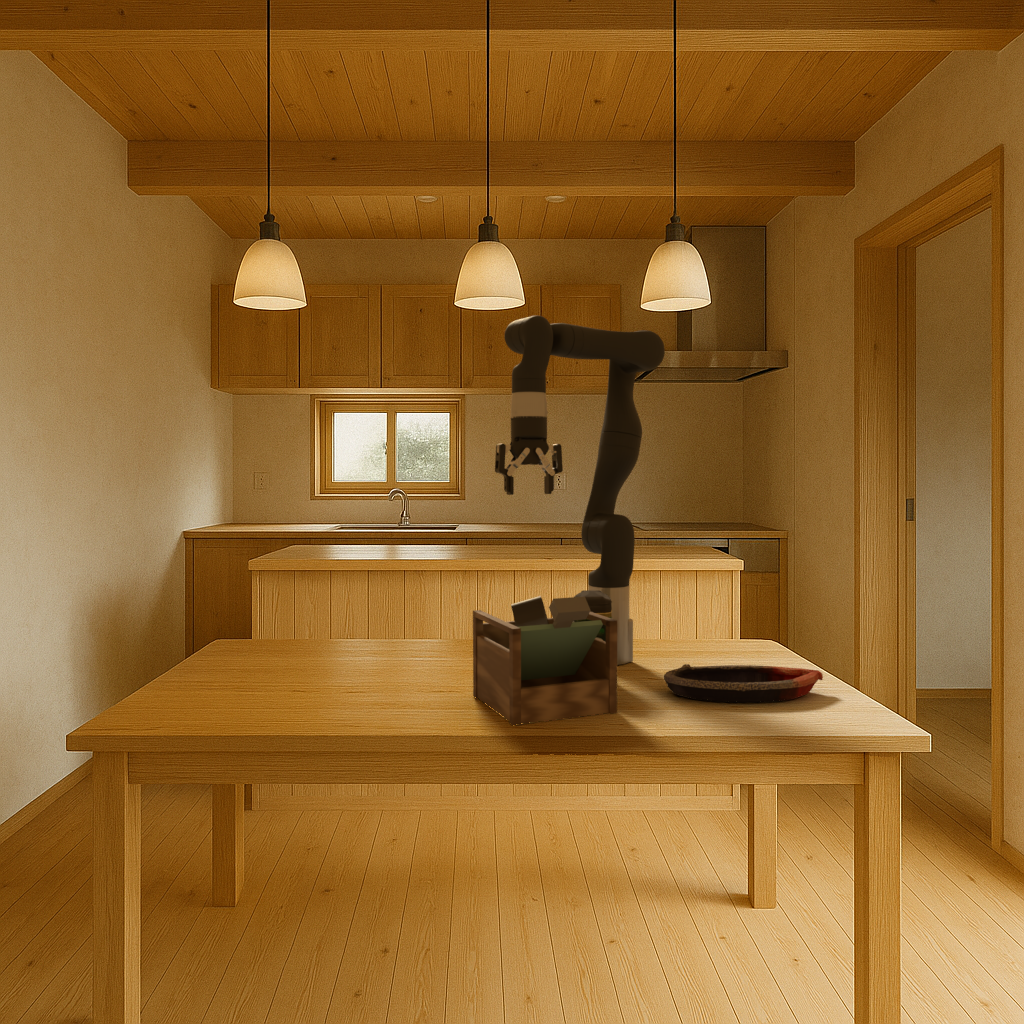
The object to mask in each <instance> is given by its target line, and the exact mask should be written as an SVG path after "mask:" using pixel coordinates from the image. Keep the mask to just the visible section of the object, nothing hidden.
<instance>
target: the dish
mask: <svg viewBox="0 0 1024 1024" xmlns="http://www.w3.org/2000/svg"><path fill="white" fill-rule="evenodd" d="M823 677H824V674H823V673H822V672H821V671H820V670H817V669H816V670H815V669H808V668H802V667H801V668H799V667H788V666H787V667H786V666H777V665H775V666H774V665H773V666H772V665H756V664H754V665H753V664H751V665H748V664H747V665H742V664H740V665H739V664H738V665H737V664H735V665H734V664H732V665H704V666H703V665H701V666H691V665H690V664H687V663H686V664H683V665H682V666H680V667H678V668H675V669H671V670H668V671H666V672H665V673H664V674H663V680H664V682H665V683H666V685H667V688H668V689H669V690H670V691H671V692H672V694H675V695H676V696H679V697H684V698H687V699H692V700H696V701H697V700H698V701H706V702H715V703H716V702H717V703H730V704H731V703H738V704H739V703H745V704H746V703H747V704H748V703H750V704H752V703H757V704H758V703H775V702H785V701H786V702H787V701H791V700H794V699H797V698H800V697H802V696H805V695H808V694H809V693H810V691H812V690H813V688H814V687H815V684H817V682H818V681H819V680H820V681H823Z"/></svg>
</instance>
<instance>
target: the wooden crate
mask: <svg viewBox="0 0 1024 1024" xmlns="http://www.w3.org/2000/svg"><path fill="white" fill-rule="evenodd" d="M547 618H548V622H549V624H553V622H554V620H553V617H547ZM586 619H589V620H592V621H596V620H601V621H602V624H603V625H606V642H605V641H602V640H600V639H597V638H595V640H594V641H593V643H592V645H591V647H590V649H589V650H588V652H587V654H586V656H585V658H584V659H583V661H582V663H581V665H580V667H579V668H578V670H577V672H576V674H575V675H567V676H558V677H548V678H539V679H529V680H521V628H519V627H517V626H515V620H510V621H509V620H508V621H507V620H506V621H505V620H503V619H501V618H498V617H497V616H494V615H492V614H490V613H488V612H485V611H484V610H481V609H478V610H472V664H473V665H472V677H473V678H472V683H473V685H472V689H473V691H472V692H473V693H472V695H473V696H474V697H473V698H475V697H476V698H475V699H477V698H479V699H480V700H481V701H483V702H484V703H486V704H487V705H488V706H490V707H491V708H493V709H494V710H495V711H497V712H498V713H500V714H501V715H502V716H504V717H505V718H506V719H507V720H509V721H510V722H509V724H510V723H511V724H512V725H516V724H521V723H529V722H537V723H539V722H538V721H544V722H550V721H549V720H552V721H557V720H556V719H560V720H564V719H563V718H568V719H573V718H572V717H576V718H580V717H579V716H584V717H588V716H587V715H591V716H596V715H595V714H599V715H604V714H603V713H607V714H609V713H611V714H616V712H617V713H618V665H617V620H614V619H611V618H608V617H605V616H602V615H599V614H596V613H593V612H590V613H589V614H588V616H587V618H586ZM479 699H478V700H479ZM480 700H479V701H480ZM481 701H480V702H481ZM483 702H482V703H483ZM484 703H483V704H484ZM486 704H485V705H486ZM487 705H486V706H487ZM488 706H487V707H488ZM490 707H489V708H490ZM491 708H490V709H491ZM494 710H493V711H494ZM495 711H494V712H495ZM498 713H497V714H498ZM502 716H501V717H502ZM506 719H505V720H506ZM507 720H506V721H507ZM511 724H510V725H511ZM529 724H530V723H529ZM512 725H511V726H512ZM521 725H522V724H521Z"/></svg>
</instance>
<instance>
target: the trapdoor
mask: <svg viewBox="0 0 1024 1024" xmlns="http://www.w3.org/2000/svg"><path fill="white" fill-rule="evenodd" d="M548 610H549V612H550V614H551V618H553V620H554V622H553V624H545V625H533V626H520V627H519V628H521V680H529V679H539V678H548V677H558V676H567V675H575V674H576V672H577V670H578V668H579V667H580V665H581V663H582V661H583V659H584V658H585V656H586V654H587V652H588V650H589V649H590V647H591V645H592V643H593V641H594V640H595V638H596V636H597V634H598V633H599V631H600V629H601V627H602V625H603V624H602V621H601V620H596V621H583V622H573V620H583V619H586V618H587V616H588V614H589V613H590V611H591V610H590V608H589V605H588V603H587V601H586V598H585V597H574V596H572V597H558V598H557V597H555V598H552V600H551V603H550V604H549V606H548Z"/></svg>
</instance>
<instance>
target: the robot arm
mask: <svg viewBox="0 0 1024 1024" xmlns="http://www.w3.org/2000/svg"><path fill="white" fill-rule="evenodd" d="M503 336H504V341H505V345H507V347H508V348H509V349H510V350H511V351H512V352H514V353H516V354H519V355H522V356H521V357H522V358H521V360H520V362H519V363H518V364H516V365H514V367H513V368H512V372H511V398H510V443H509V444H505V443H498V444H496V446H495V457H494V458H495V460H494V472H495V473H496V474H498V475H499V474H500V475H501V476H503V491H504V492H505V493H506V495H507V496H509V495H510V496H513V495H514V494H515V493H514V487H515V485H514V484H515V483H514V481H515V480H514V479H515V478H514V476H513V475H514V473H515V472H516V470H517V469H518V468H519V467H520V466H523V465H524V466H526V465H530V466H536V465H537V466H538V467H539V468H540V469H541V470H542V472H543V473H544V475H545V476H544V477H543V479H544V480H543V482H544V484H543V485H544V486H543V487H544V491H543V492H544V495H545V494H546V495H552V494H553V493H552V492H554V489H555V475H557V474H559V473H563V451H562V444H560V443H554V444H548V440H547V439H548V413H549V412H548V401H547V393H546V392H547V375H546V374H547V370H548V366H549V362H550V358H551V356H554V357H559V358H564V359H566V358H567V359H573V360H574V359H575V360H608V361H609V362H608V376H607V377H608V379H607V392H606V399H605V405H604V406H605V408H604V415H603V421H602V426H601V432H600V437H599V441H598V443H599V444H598V451H597V457H596V464H595V470H594V476H593V480H592V484H591V485H592V487H591V490H590V494H589V498H588V502H587V505H586V509H585V514H584V516H583V520H582V525H581V531H580V532H581V533H580V534H581V541H582V544H583V547H584V548H585V549H586V550H587V551H588V552H589V553H591V554H597V555H600V563H599V566H598V567H597V568H595V569H594V570H591V571H590V572H589V573H588V577H587V578H588V579H587V581H588V582H587V590H599V591H601V592H602V593H604V594H606V595H608V596H609V597H610V599H611V601H612V603H611V605H612V619H614V620H617V666H618V665H620V666H621V665H625V664H628V663H632V662H634V620H633V618H630V579H631V576H632V574H633V572H634V571H633V570H634V560H635V559H634V556H635V541H636V539H635V530H634V526H633V523H632V521H631V519H629V518H628V517H627V516H625V515H622V514H617V513H615V510H616V504H617V499H618V496H619V494H620V491H621V489H622V487H623V486H624V484H625V482H627V479H628V478H629V476H630V475H631V473H632V472H633V470H634V468H635V466H636V464H637V462H638V460H639V455H640V450H641V444H642V439H643V438H642V437H643V427H642V422H641V419H640V416H639V413H638V411H637V408H636V407H637V406H636V404H635V402H634V387H635V381H636V376H637V374H638V373H642V372H643V373H644V372H645V373H646V372H650V371H652V370H654V369H656V368H658V367H659V366H660V365H661V364H662V362H663V360H664V359H665V353H666V352H665V344H664V341H663V340H662V338H661V336H659V334H658V333H656V332H654V331H652V330H645V329H643V330H642V329H641V330H636V331H635V330H634V331H620V330H619V331H618V330H617V331H616V330H607V329H602V328H601V329H599V328H595V327H588V326H583V325H578V324H577V325H576V324H570V323H565V322H557V323H550V321H549V320H548V319H547V318H546V317H545V316H542V315H531V316H528V317H524V318H523V317H522V318H519V319H516V320H514V321H511V322H510V323H509V324H508V325H507V327H506V329H505V331H504V335H503ZM509 452H510V453H511V455H512V457H511V459H510V460H509V461H508V463H507V466H506V455H507V454H508V453H509ZM548 452H549V454H550V455H551V462H550V461H549V460H548V458H547V457H546V455H547V453H548ZM551 463H552V465H551Z"/></svg>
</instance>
